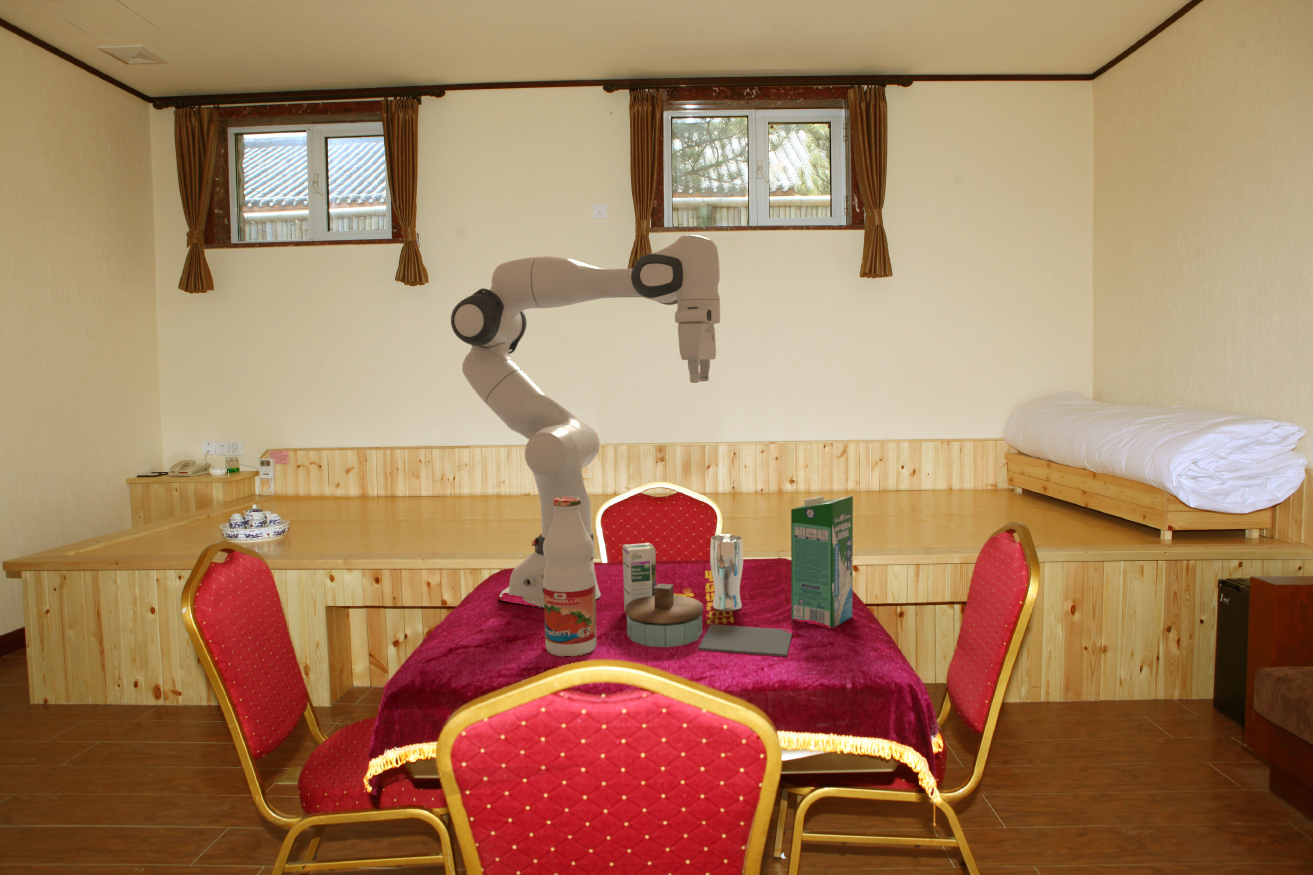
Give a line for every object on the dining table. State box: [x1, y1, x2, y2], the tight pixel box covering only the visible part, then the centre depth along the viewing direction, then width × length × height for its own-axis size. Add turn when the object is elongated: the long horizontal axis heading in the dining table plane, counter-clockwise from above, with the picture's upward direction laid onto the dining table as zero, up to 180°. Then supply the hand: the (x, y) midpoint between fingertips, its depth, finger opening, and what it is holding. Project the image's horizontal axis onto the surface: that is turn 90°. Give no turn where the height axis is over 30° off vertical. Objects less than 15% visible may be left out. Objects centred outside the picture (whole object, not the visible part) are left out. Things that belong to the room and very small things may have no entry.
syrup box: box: [622, 542, 657, 609], centre depth 164 cm, size 6×6×14 cm
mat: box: [697, 624, 793, 658], centre depth 148 cm, size 16×13×1 cm
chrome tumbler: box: [709, 533, 744, 612], centre depth 168 cm, size 7×7×15 cm
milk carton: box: [790, 495, 854, 628], centre depth 158 cm, size 9×9×25 cm
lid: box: [624, 583, 704, 623], centre depth 152 cm, size 15×15×5 cm
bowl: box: [626, 613, 703, 648], centre depth 152 cm, size 14×14×4 cm
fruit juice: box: [543, 496, 598, 657], centre depth 144 cm, size 9×9×28 cm
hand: (699, 382), depth 165 cm, fingers open, 8 cm apart
